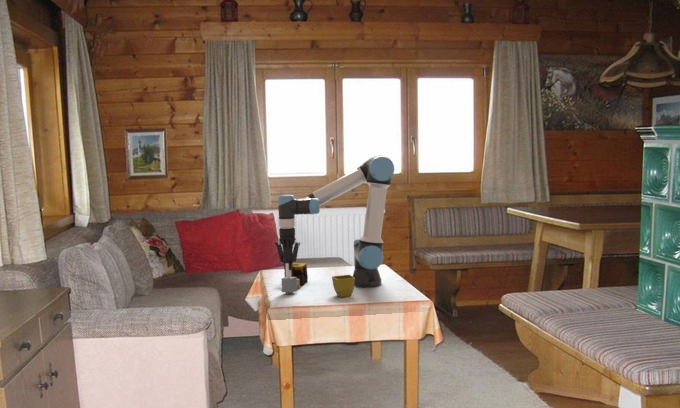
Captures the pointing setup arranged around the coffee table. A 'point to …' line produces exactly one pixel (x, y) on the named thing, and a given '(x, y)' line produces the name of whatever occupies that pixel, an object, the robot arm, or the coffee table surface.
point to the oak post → (298, 284)
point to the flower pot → (343, 285)
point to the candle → (299, 272)
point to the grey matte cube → (289, 284)
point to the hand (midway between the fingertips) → (288, 276)
